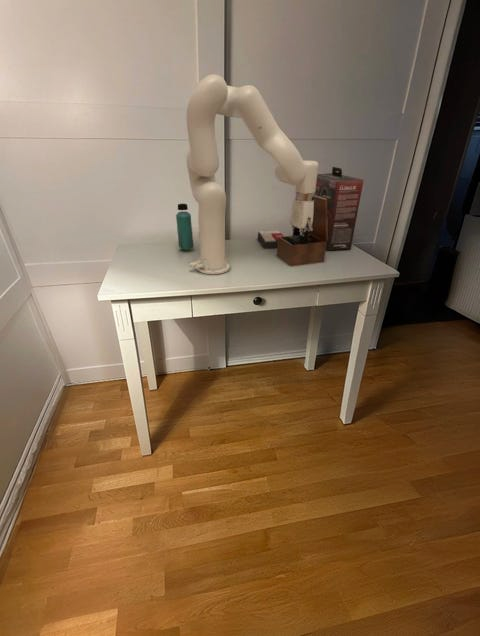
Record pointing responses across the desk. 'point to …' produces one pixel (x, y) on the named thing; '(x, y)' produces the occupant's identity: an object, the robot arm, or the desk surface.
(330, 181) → the headset box
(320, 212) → the lid
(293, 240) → the black capsule on box
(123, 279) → the desk surface
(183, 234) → the beverage bottle
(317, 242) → the chest
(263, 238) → the calculator
